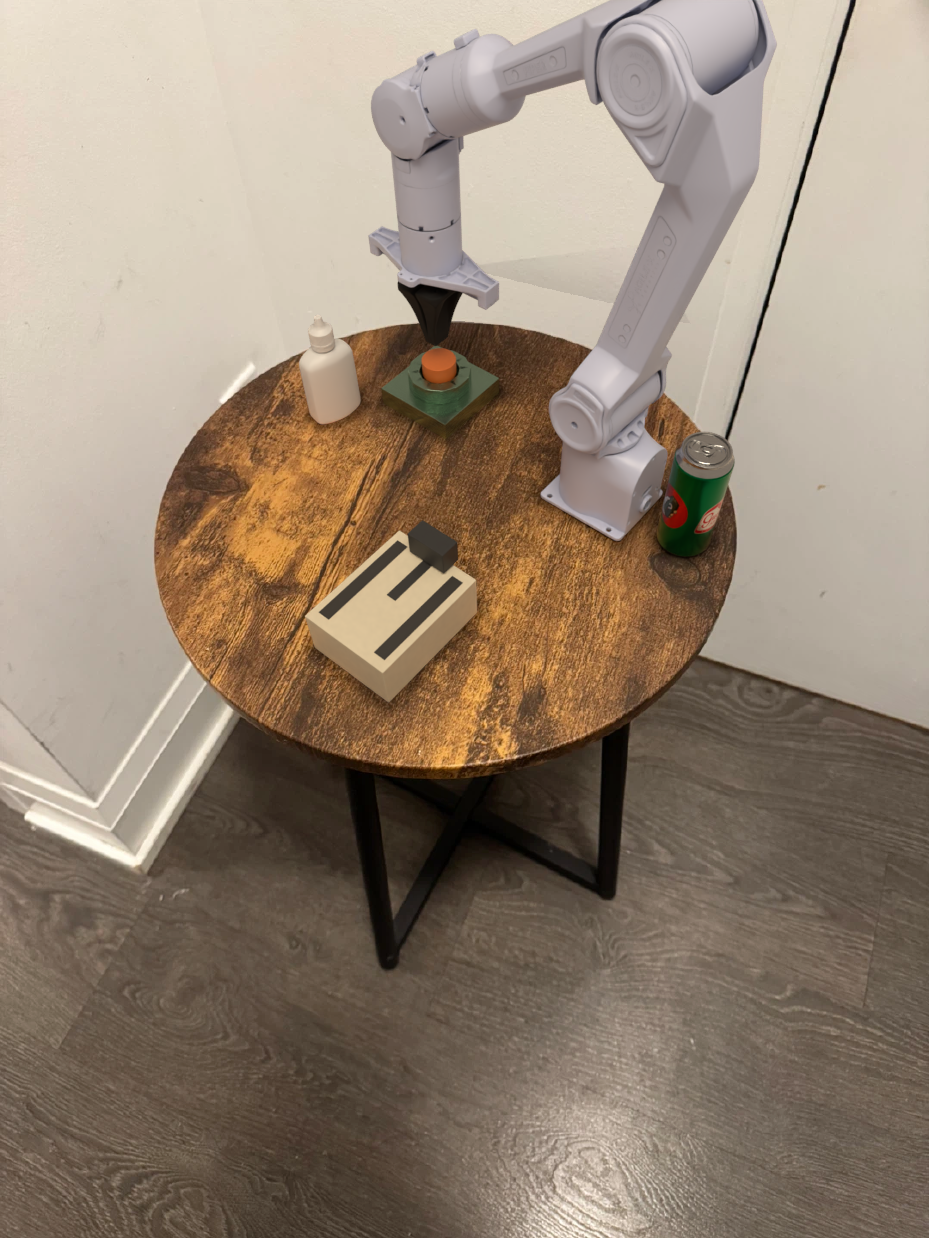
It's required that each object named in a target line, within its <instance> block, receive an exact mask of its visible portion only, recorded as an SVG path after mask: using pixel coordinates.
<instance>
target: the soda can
mask: <svg viewBox="0 0 929 1238" xmlns="http://www.w3.org/2000/svg"><path fill="white" fill-rule="evenodd" d="M735 464H736V461H735V456H734V450H733V446H732V444H731V443H730V442H729V441H728V439H726V437H723V436H722V435H720V434H718V433H715V432H711V431H697V432H694V433H691V434H689V435H688V436H686V437H685V438H684V439H683V441H682V442H681V443H680V444H679V445H678V446H677V447H676V449H675V451H674V456H673V459H672V464H671V468H670V472H669V478H668V481H667V486H666V488H665V489H666V490H665V494H664V498H663V502H662V507H661V511H660V515H659V520H658V525H657V528H656V539H657V541H658V543H659V544H660V546H661V547H662V548H663V549H664V550H665V551H666V552H668V553H670V554H672V555H675V556H678V557H683V558H685V557H694V556H697V555H700V554H701V553H703V552H704V551H706V550H707V549H708V547H709V546H710V544H711V541H712V537H713V534H714V531H715V528H716V525H717V521H718V518H719V515H720V512H721V509H722V505H723V503H724V500H725V496H726V493H727V490H728V487H729V483H730V480H731V477H732V474H733V471H734V468H735Z"/></svg>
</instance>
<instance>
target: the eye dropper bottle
mask: <svg viewBox="0 0 929 1238" xmlns="http://www.w3.org/2000/svg"><path fill="white" fill-rule="evenodd" d="M307 333H308V338H309V343H310V347H308V348H307V349H306V350H305V352H304V353H303V354H302V355H301V357H300V359H299V361H298V368H299V372H300V377H301V381H302V386H303V390H304V391H303V392H304V395H305V401H306V404H307V407H308V412H309V415H310V417H311V418H312V419H313V420H314V421H315V422H316V423H317V424H320V425H328V424H332V423H336V422H338V421H340V420H343V419H345V418H346V417H348V416H350V415H351V414H353V412H355V411H356V410H357V409H358V408H359V406H360V405H361V402H362V399H361V392H360V388H359V381H358V374H357V368H356V362H355V357H354V353H353V350H352V347H351V346H350V345H349V343H347V342H346V341H344V340H343V339H341V338H335V335H334V330H333V326H332V325H331V323H329V322H327V321H324V320H323V318H322V316H321V314H316V315H314V317H313V323H311V325H309V326H308V328H307Z"/></svg>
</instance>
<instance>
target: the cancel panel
mask: <svg viewBox="0 0 929 1238" xmlns="http://www.w3.org/2000/svg"><path fill="white" fill-rule="evenodd" d="M435 348H442V347H441V346H439V345H437V346H434V345H433V346H432V347H431V348H430V349H429V350H431V349H435ZM449 350H450V351H451V352H453V353H454V355H455V357H456V370H457V372H456V375H455V377H454V378H453V379H452V380H451V381H448V382H445V383H441V384H440V383H431V382H429V381H427V380H426V379H425V378H424V376H423V373H422V357H423V355H424V354H425V353H426V352H427V351H425V352H421V353H420V354H419V355H417V357H415V358H414V359H412V360H411V361H410V364H409V366H407V367H405V368H404V369H403V370H402V371H401V372H400V373H398V374H397V375H396V376H395V377H393V378H392V379H391V380H390V381H388V382H387V383H386V384H385V385H384V386H382V387H381V388H380V390H381V397H382V404H383V405H385V406H387V407H388V408H390V409H392V410H393V411H395V412H397V413H399V414H400V415H402V416H404V417H406V418H408V419H410V420H411V421H413V422H415V423H416V424H418V425H420V426H422V427H423V428H425V429H427V430H428V431H430V432H431V433H434V434H435V435H437V436H439V437H440V438H442V439H444V440H448V439H449V438H450V437H451V436H452V435H454V433H456V432H457V431H458V430H459V429H460V428H461V427H463V425H464V424H466V423H467V422H468V421H469V420H470V419H472V418H473V417H474V416H475V415H476V414H477V413H479V412H480V411H481V410H482V409H483V408H485V406H487V405H488V404H489V403H490V402H491V401H493V399H494V398H496V397H497V396H498V395H500V378H499V377H498V376H496V375H495V374H493V373H491V372H489V371H487V370H485V369H483V368H482V367H479V366H477V365H475V364H473V363H471V362H470V361H468V359H467V357H466V356H464V355H462V354H460V353H458V352H457V351H454V350H451V349H449Z"/></svg>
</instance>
